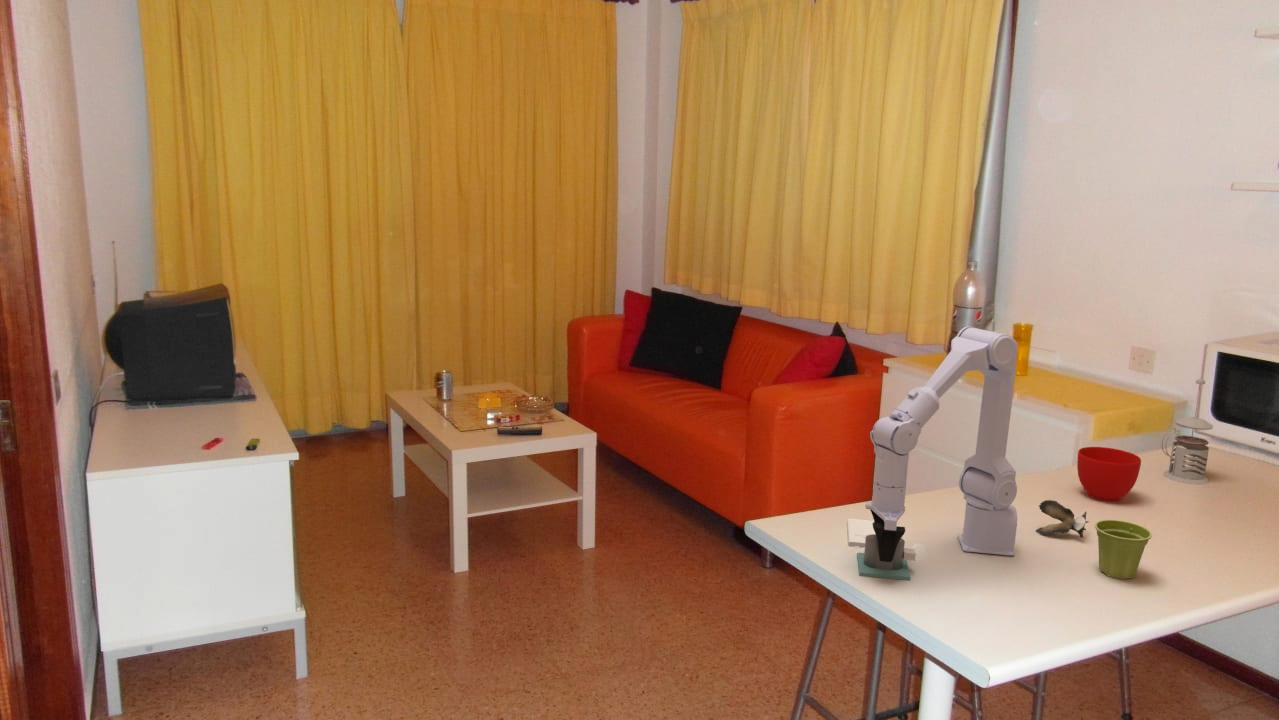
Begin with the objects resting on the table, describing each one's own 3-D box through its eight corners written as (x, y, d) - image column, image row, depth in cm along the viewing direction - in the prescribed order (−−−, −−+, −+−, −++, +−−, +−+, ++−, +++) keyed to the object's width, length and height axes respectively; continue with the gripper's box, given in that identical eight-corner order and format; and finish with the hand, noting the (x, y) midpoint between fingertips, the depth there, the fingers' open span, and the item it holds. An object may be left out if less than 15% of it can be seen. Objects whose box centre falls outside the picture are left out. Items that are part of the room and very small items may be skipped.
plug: (864, 567, 170) (866, 541, 169) (863, 558, 174) (865, 533, 173) (914, 572, 168) (917, 546, 167) (912, 563, 172) (914, 538, 171)
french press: (1217, 484, 223) (1234, 384, 217) (1169, 483, 223) (1184, 382, 218) (1194, 471, 232) (1209, 374, 227) (1148, 470, 232) (1162, 373, 227)
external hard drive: (887, 529, 192) (891, 553, 180) (846, 525, 193) (848, 548, 181) (887, 522, 191) (891, 545, 179) (847, 518, 193) (848, 540, 181)
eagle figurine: (1079, 522, 193) (1035, 509, 195) (1092, 503, 188) (1046, 490, 190) (1078, 552, 188) (1032, 538, 190) (1091, 533, 183) (1043, 519, 185)
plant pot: (1143, 588, 165) (1150, 543, 164) (1086, 575, 170) (1092, 531, 168) (1147, 570, 173) (1153, 526, 171) (1092, 558, 178) (1097, 515, 176)
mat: (905, 560, 175) (905, 557, 175) (910, 580, 166) (910, 577, 166) (856, 555, 177) (857, 552, 176) (859, 575, 168) (859, 572, 168)
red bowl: (1139, 489, 218) (1145, 449, 216) (1132, 511, 204) (1138, 467, 202) (1079, 478, 225) (1084, 439, 222) (1069, 498, 211) (1074, 456, 208)
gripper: (865, 468, 176) (860, 535, 179) (869, 494, 162) (864, 566, 165) (903, 471, 175) (897, 538, 177) (911, 497, 161) (904, 570, 163)
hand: (884, 552), depth 171 cm, fingers open, 7 cm apart
